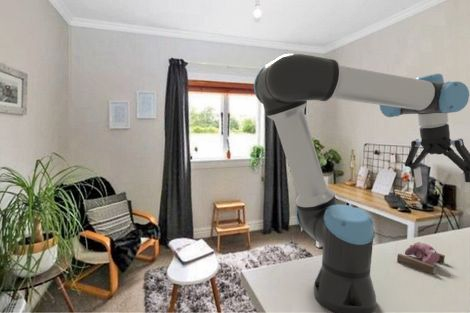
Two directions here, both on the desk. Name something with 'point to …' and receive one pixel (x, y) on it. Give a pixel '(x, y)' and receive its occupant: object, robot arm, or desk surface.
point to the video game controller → (423, 252)
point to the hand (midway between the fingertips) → (441, 188)
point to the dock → (419, 262)
